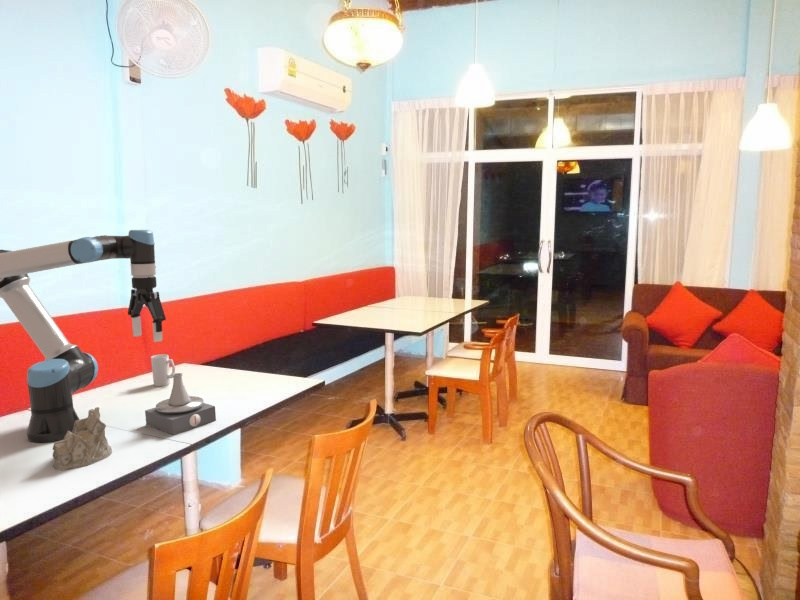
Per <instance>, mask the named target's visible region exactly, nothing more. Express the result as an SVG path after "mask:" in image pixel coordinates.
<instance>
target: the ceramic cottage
mask: <svg viewBox="0 0 800 600" xmlns="http://www.w3.org/2000/svg"><path fill="white" fill-rule="evenodd" d="M106 427H107V426H106V424H105V423H104V422H102V420H101V413H100V407H99V406H97V407H94V408H91V409H89V410H88V415H87V417H85V418H82V419H81V418H80V419H79V420H77V421H75V423H74V427H73V430H72V432H70V431H67V433H66V435H65V437H64V439H62V440H58V441H54V443H53V445H52V451H53V452H52V458H53V460H54V461H52V467H53V468H55V469H56V470H58V471H63V470H64V471H65V470H69V469H75V468H81V467H86V466H87V467H88V466H90V465H93V464H95V463H97V462H101V461H103V460H105V459H107V458H109V457H110V456H112V453H113V450H112V446H110V445H109V442H108V439H107V437H106Z"/></svg>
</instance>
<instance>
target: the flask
mask: <svg viewBox="0 0 800 600" xmlns="http://www.w3.org/2000/svg"><path fill="white" fill-rule="evenodd" d="M172 377H173V378H172V380H173V381H172V388H171V393H170V395H169V398H168V399H169V402H168V405H172V406H178V405H185V404H187V403H190V401H191V399H190V397H189V396H190V395H189V393H188V391H187V389H186V387H185V385H184V382H183V372H182V373H181V372H176V373H174V374H173V375H172Z"/></svg>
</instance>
